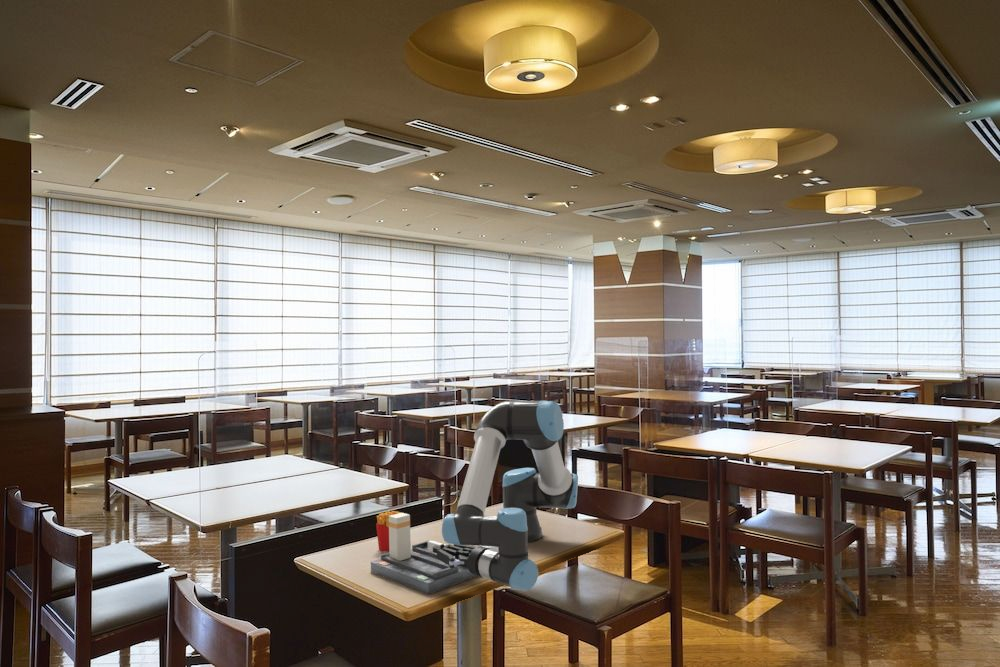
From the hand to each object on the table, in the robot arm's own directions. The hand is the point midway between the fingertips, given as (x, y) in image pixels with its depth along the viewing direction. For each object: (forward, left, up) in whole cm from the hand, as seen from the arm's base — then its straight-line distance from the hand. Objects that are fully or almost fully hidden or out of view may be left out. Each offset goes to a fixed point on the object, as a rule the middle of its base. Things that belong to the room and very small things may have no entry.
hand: (429, 545), depth 191 cm
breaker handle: (0, -14, -7) cm, 16 cm away
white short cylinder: (-19, +6, -10) cm, 22 cm away
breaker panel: (-3, -5, -10) cm, 12 cm away
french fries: (-10, -33, -10) cm, 36 cm away
